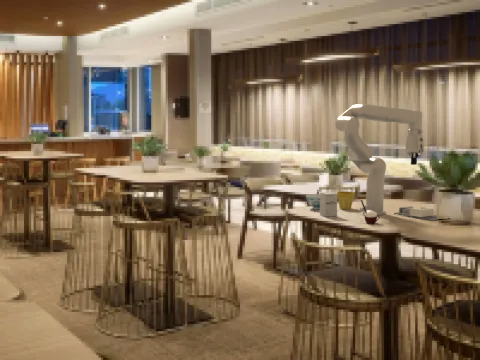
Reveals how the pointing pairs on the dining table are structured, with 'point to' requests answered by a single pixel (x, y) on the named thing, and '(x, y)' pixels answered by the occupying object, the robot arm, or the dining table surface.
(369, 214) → the cocoa
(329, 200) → the supplement box
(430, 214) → the lock clasp
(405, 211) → the tongs fixed arm
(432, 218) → the mat
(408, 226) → the dining table surface
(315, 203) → the chinaware
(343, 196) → the plant pot
